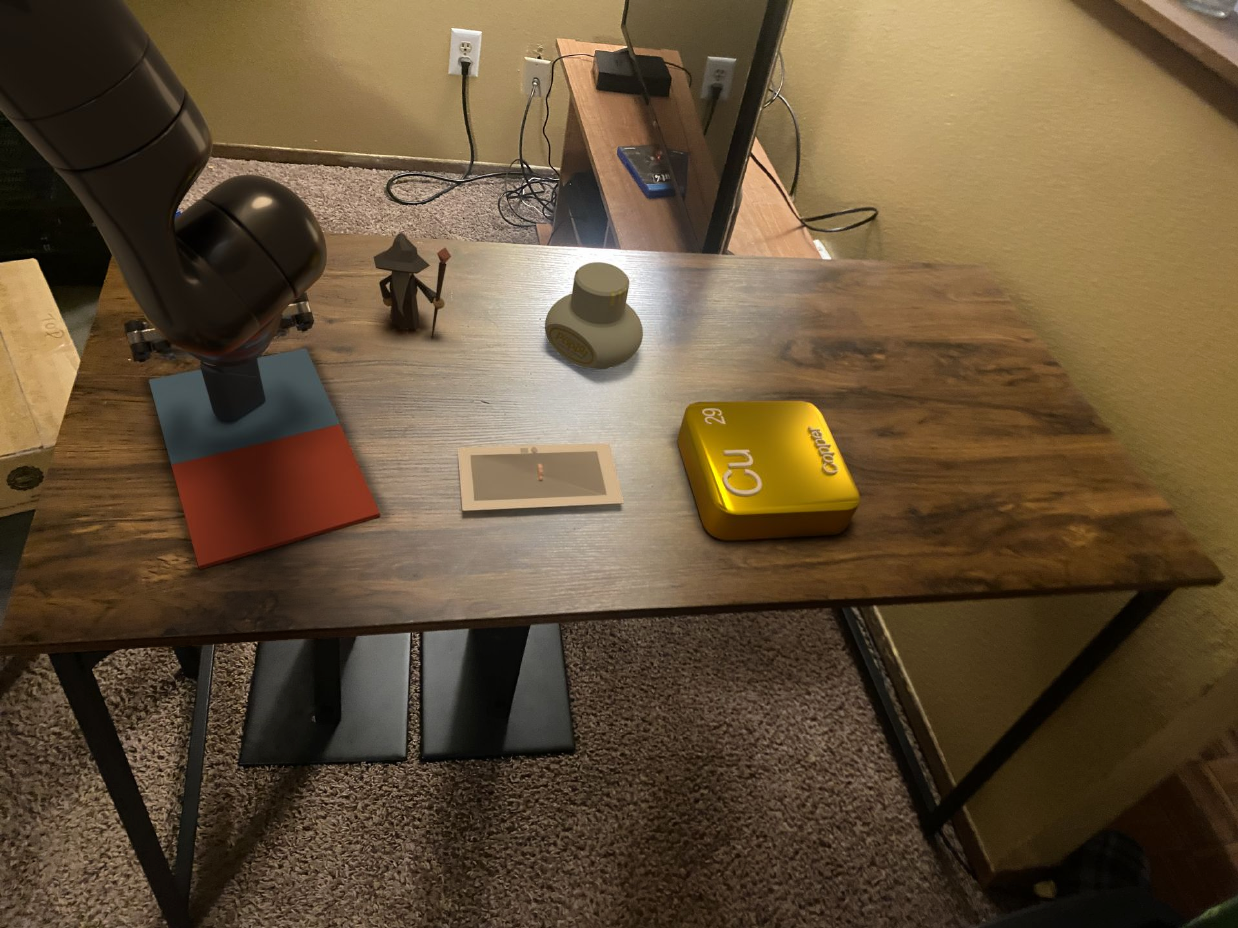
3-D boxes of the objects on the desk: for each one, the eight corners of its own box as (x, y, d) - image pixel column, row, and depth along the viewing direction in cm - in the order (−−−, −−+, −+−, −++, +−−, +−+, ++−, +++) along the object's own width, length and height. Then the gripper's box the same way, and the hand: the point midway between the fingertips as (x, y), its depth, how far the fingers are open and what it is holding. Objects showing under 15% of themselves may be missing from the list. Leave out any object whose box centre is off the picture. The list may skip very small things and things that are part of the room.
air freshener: (649, 356, 96) (666, 284, 89) (607, 390, 91) (621, 317, 83) (575, 313, 99) (585, 240, 92) (530, 343, 94) (537, 269, 87)
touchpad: (622, 510, 79) (625, 495, 78) (462, 518, 76) (462, 502, 74) (607, 450, 85) (610, 435, 83) (457, 455, 81) (457, 439, 80)
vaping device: (272, 399, 82) (251, 299, 73) (227, 427, 78) (200, 326, 70) (253, 387, 82) (230, 287, 74) (208, 415, 79) (179, 313, 70)
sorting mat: (199, 569, 68) (198, 566, 68) (149, 383, 81) (148, 379, 81) (380, 516, 75) (379, 513, 74) (306, 351, 88) (306, 347, 87)
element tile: (852, 535, 82) (870, 504, 78) (707, 543, 78) (719, 511, 75) (803, 427, 91) (817, 395, 88) (672, 430, 88) (681, 396, 85)
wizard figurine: (372, 337, 91) (364, 242, 82) (383, 306, 95) (376, 212, 86) (449, 347, 92) (449, 253, 83) (456, 316, 95) (457, 223, 87)
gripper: (310, 244, 64) (290, 283, 78) (99, 275, 58) (121, 311, 72) (336, 341, 65) (312, 361, 79) (132, 381, 59) (147, 395, 73)
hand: (221, 337), depth 76 cm, fingers open, 8 cm apart
